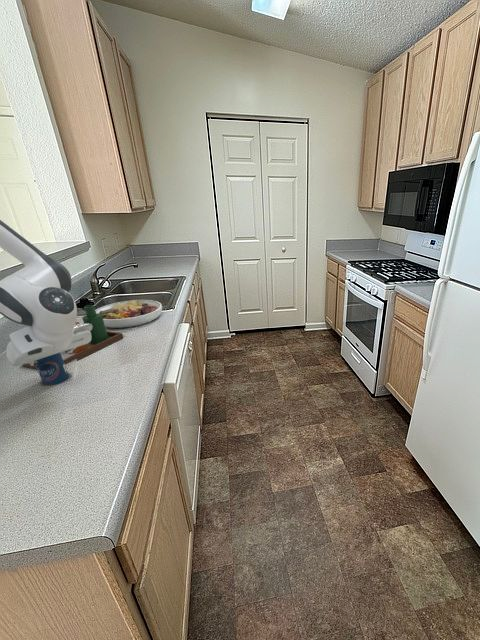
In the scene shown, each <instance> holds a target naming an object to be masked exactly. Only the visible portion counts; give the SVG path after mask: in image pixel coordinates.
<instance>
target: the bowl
mask: <svg viewBox="0 0 480 640" xmlns="http://www.w3.org/2000/svg"><path fill="white" fill-rule="evenodd" d="M95 311H96V314H97V313H98V314H102V317H103V320H104V324H105V327H106V328H110V329H111V328H112V329H113V328H114V329H121V328H122V329H123V328H130V327H131V328H132V327H137V326H141V325H144V324H147V323H150V322H152V321H154V320H156V319H157V318H159V317H160V316H161V314H162V312H163V305H162V303H161V302H159V301H156V300H151V299H132V300H124V301H119V302H114V303H110V304H106V305H103V306H101V307H98V308H97V309H96V308H95Z"/></svg>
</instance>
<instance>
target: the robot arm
mask: <svg viewBox="0 0 480 640" xmlns="http://www.w3.org/2000/svg"><path fill="white" fill-rule="evenodd" d="M0 248H1V249H2V250H4V251H5V252H6V253H8V254H9V255H11V257H13V258H14V259H16V260H17V261H19V262H20V263H21V264H23V265H24V267H22V268H20V269H18V270H17V271H15V272H13V273H12V274H10V275H7V276H5V277H4V278H2V279H1V280H0V315H1V316H3V317H4V318H6V319H8V320H9V321H12V322H14V323H16V324H18V325H23V326H25V327H22V328H20V329H18V330H15V331H13V332H11V333H10V334H9V339H10V341H9V342H8V344H7V345H6V350H5V352H6V353H5V355H6V358H7V360H8V361H9V363H10V365H12V366H13V367H21V366H23V364H26V363H29V364H30V365H31V366H33V365H36V364H37V360H38V359H42V358H45V357H48V356H51V355H54V354H57V353H60V354H61V353H63V352H65V353H66V355H68V354H69V353H72V352H73V350H74V349H75V348H77V347H78V346H82V345H85V344H88V343H89V342H90V341H91V338H92V336H91V332H90V331H91V330H92V327H93V326H92V324H87V323H85V324H84V323H80V324H78V325H75V323H76V322H77V317H78V308H77V303H76V301H75V298H74V297H73V296H72V294H71V293H70V291H71V290H72V276H71V273H70V271H69V270H68V269H67V267H66V266H64V265H63V264H62V263H61V262H59V261H58V260H56V259H54V258H52V257H51V256H50V255H48V254H46V253H44V252H43V251H42V250H40V249H39V248H38V247H37V246H35V245H34V244H33V243H31V242H30V241H29V240H27V239H26V238H24V237H23V236H22V235H21V234H19V233H18V232H17V231H16V230H15V229H13V228H12V227H11V226H9V225H8V224H6V223H5V222H4V221H3V220H1V219H0ZM69 355H70V354H69Z"/></svg>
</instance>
